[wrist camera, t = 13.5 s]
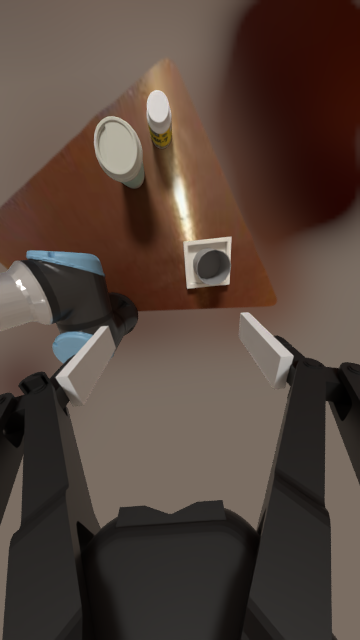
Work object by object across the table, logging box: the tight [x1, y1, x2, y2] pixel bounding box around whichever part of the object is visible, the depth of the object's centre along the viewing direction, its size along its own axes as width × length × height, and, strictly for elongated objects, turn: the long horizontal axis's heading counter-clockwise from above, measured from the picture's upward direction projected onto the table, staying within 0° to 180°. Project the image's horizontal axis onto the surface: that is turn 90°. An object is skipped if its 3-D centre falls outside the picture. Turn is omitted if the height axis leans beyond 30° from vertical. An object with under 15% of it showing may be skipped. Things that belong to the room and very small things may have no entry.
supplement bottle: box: [147, 90, 172, 149], centre depth 32 cm, size 5×5×8 cm
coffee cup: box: [94, 116, 145, 189], centre depth 33 cm, size 9×8×12 cm
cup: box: [193, 248, 231, 285], centre depth 43 cm, size 8×8×10 cm
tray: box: [183, 237, 231, 289], centre depth 47 cm, size 13×13×2 cm
